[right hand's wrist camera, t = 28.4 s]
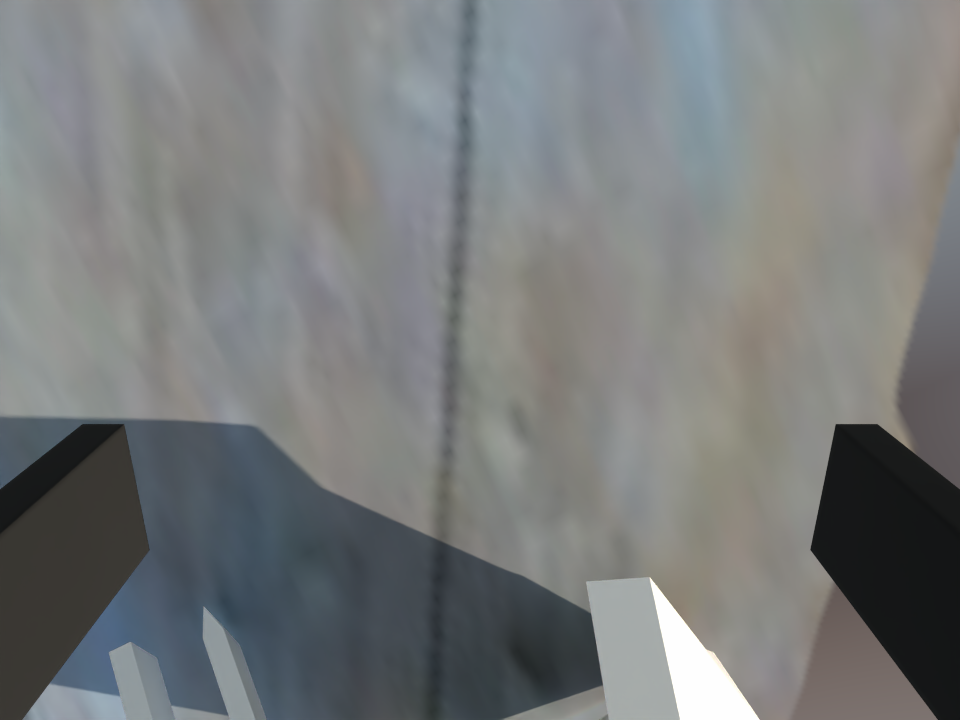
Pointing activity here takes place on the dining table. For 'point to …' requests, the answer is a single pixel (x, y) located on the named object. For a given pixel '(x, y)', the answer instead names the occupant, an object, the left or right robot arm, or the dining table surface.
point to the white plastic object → (620, 644)
